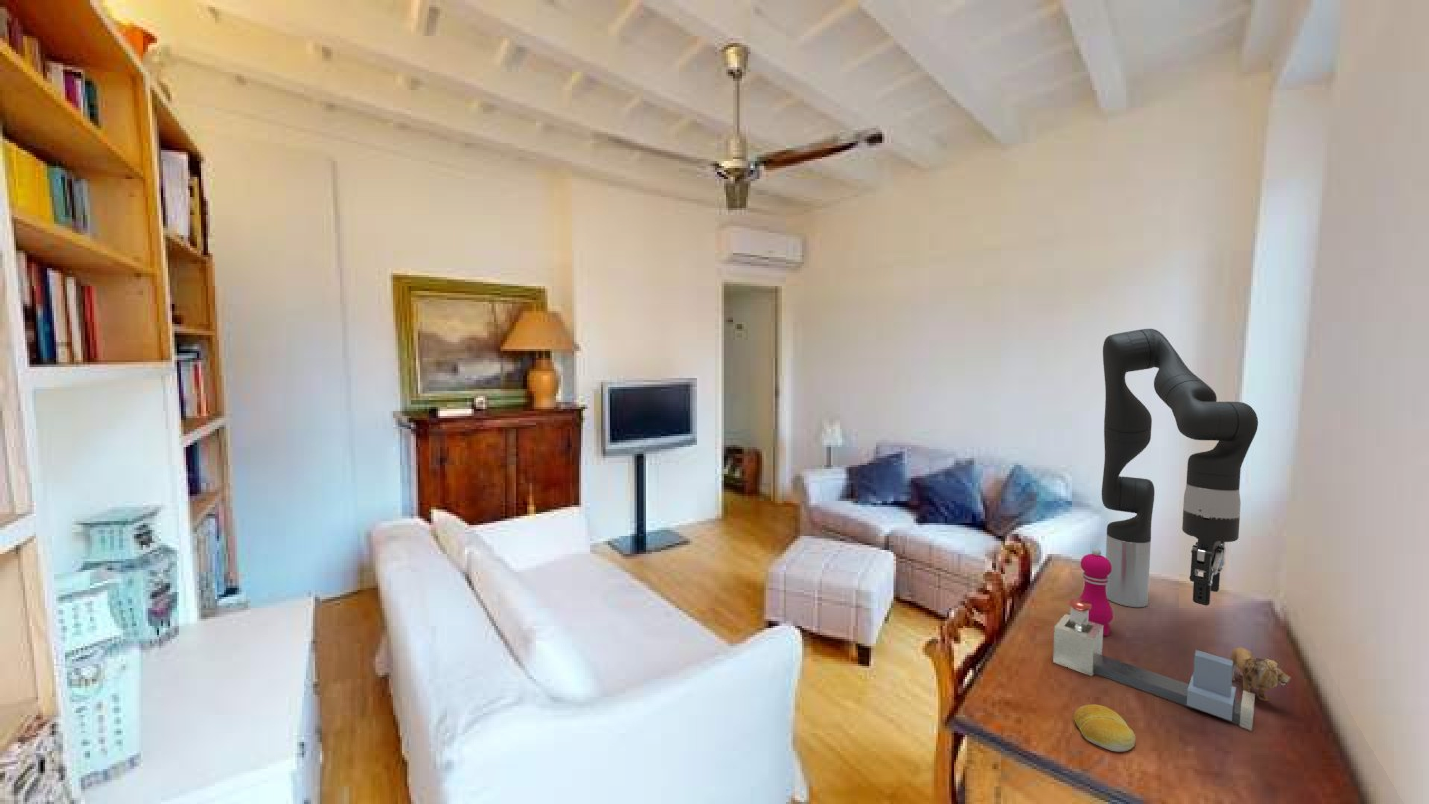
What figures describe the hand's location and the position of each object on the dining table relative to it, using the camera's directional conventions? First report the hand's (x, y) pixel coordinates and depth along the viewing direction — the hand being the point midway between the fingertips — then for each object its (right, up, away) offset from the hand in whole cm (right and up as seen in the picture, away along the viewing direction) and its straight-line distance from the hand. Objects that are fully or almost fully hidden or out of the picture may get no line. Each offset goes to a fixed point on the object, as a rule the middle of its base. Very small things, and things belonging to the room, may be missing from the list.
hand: (1206, 596), depth 97 cm
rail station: (-5, -21, +8) cm, 23 cm away
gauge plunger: (-13, -13, +16) cm, 24 cm away
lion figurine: (+14, -21, +6) cm, 26 cm away
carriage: (+2, -21, +1) cm, 21 cm away
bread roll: (-23, -23, -5) cm, 32 cm away
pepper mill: (0, -19, +29) cm, 35 cm away
